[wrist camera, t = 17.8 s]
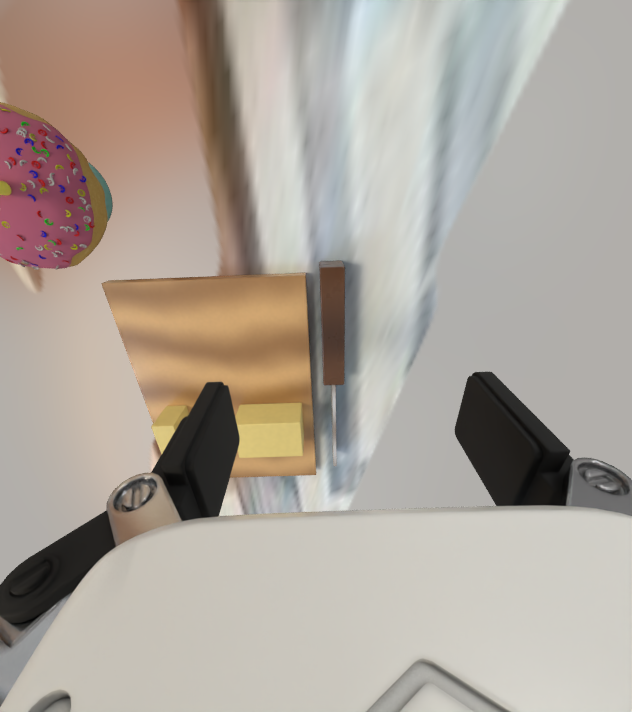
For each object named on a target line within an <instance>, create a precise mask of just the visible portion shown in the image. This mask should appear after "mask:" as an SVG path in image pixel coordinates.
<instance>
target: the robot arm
mask: <svg viewBox="0 0 632 712" xmlns="http://www.w3.org/2000/svg"><path fill="white" fill-rule="evenodd" d="M455 435H456V437H457V439H458V441H459V443H460V444H461V446H462V448H463V450H464V451H465V453H466V455H467V456H468V458H469V460H470V461H471V463H472V465H473V467H474V468H475V470H476V472H477V473H478V475H479V477H480V478H481V480H482V482H483V483H484V485H485V487H486V489H487V490H488V492H489V494H490V495H491V497H492V499H493V501H494V502H495V504H496V506H479V507H443V508H411V509H410V508H409V509H382V510H381V509H379V510H352V511H351V510H350V511H323V512H297V513H272V514H252V515H234V516H219V513H220V510H221V506H222V503H223V499H224V496H225V492H226V489H227V485H228V482H229V478H230V475H231V471H232V468H233V464H234V461H235V457H236V454H237V451H238V447H239V442H240V437H239V432H238V427H237V423H236V418H235V414H234V409H233V404H232V400H231V395H230V391H229V387H228V385H224V384H223V382H207V383H206V384H205V386H204V388H203V390H202V391H201V393H200V395H199V397H198V399H197V400H196V402H195V404H194V406H193V408H192V409H191V411H190V413H189V415H188V416H186V417H184V418H183V419H182V420H181V422H180V423H179V425H178V427H177V429H176V430H175V432H174V434H173V436H172V437H171V439H170V441H169V443H168V444H167V446H166V448H165V450H164V451H163V453H162V455H161V457H160V458H159V460H158V462H157V464H156V465H155V467H154V469H153V471H152V472H151V473H143V474H138V475H135V476H133V477H131V478H129V479H127V480H126V481H124V482H122V483H121V484H120V485H119V486H118V487H117V488H116V489H115V490H114V491H113V492H112V494H111V495H110V496H109V499H108V501H107V511H105V512H104V513H102V514H100V515H98V516H97V517H95V518H93V519H92V520H90V521H89V522H87V523H85V524H84V525H82V526H80V527H79V528H77V529H76V530H74V531H72V532H71V533H69V534H67V535H66V536H64V537H62V538H61V539H59V540H58V541H56V542H54V543H53V544H51V545H49V546H48V547H46V548H45V549H43V550H41V551H39V552H38V553H36V554H35V555H33V556H31V557H30V558H28V559H27V560H25V561H24V562H23V563H21V564H20V565H18V567H16V568H15V569H14V570H13V571H12V572H11V573H10V574H9V575H8V576H7V577H6V579H5V580H4V581H3V583H2V584H1V585H0V712H632V480H631V479H630V478H629V477H628V476H627V475H626V474H624V473H623V472H622V471H620V470H618V469H617V468H615V467H614V466H612V465H609V464H607V463H605V462H603V461H599V460H596V459H591V458H577V459H575V460H573V459H572V457H571V456H570V455H569V453H570V450H569V449H568V448H567V447H566V446H565V445H564V444H563V443H562V442H560V440H559V439H558V438H557V437H556V436H555V435H554V434H553V433H552V432H551V431H550V430H549V429H548V428H547V427H546V426H545V425H544V424H543V423H542V422H541V421H540V420H539V419H538V418H537V417H536V416H535V415H534V414H533V413H532V412H531V411H530V410H529V409H528V408H527V407H526V406H525V405H524V404H523V403H522V402H521V401H520V400H519V399H518V398H517V397H516V396H515V395H514V394H513V393H512V392H511V391H510V390H509V389H508V388H507V387H506V386H505V385H504V384H503V383H502V382H501V381H500V380H499V379H498V378H497V377H496V376H495V375H494V374H493V373H492V372H475V373H473V374H472V376H469V377H468V379H467V383H466V387H465V391H464V395H463V399H462V403H461V407H460V411H459V415H458V418H457V422H456V426H455Z"/></svg>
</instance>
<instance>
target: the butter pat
mask: <svg viewBox="0 0 632 712" xmlns="http://www.w3.org/2000/svg"><path fill="white" fill-rule="evenodd" d="M188 415H189V413H188V409H187V406H186V405H185V406H166V407H165V409H164V410H163V411H162V413H161V414H160V415H159V417H158V418H157V419H156V421H155V422H154V424H153V425H152V427H151V428H152V430H153V433H154V436H155V438H156V441H157V443H158V446H159V449H160V451H161V454H162V453H163V451H164V450H165V448H166V446H167V444H168V443H169V441H170V439H171V437H172V436H173V434H174V432H175V430H176V429H177V427H178V425H179V423H180V422H181V420H182V419H183V418H184V417H186V416H188Z"/></svg>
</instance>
